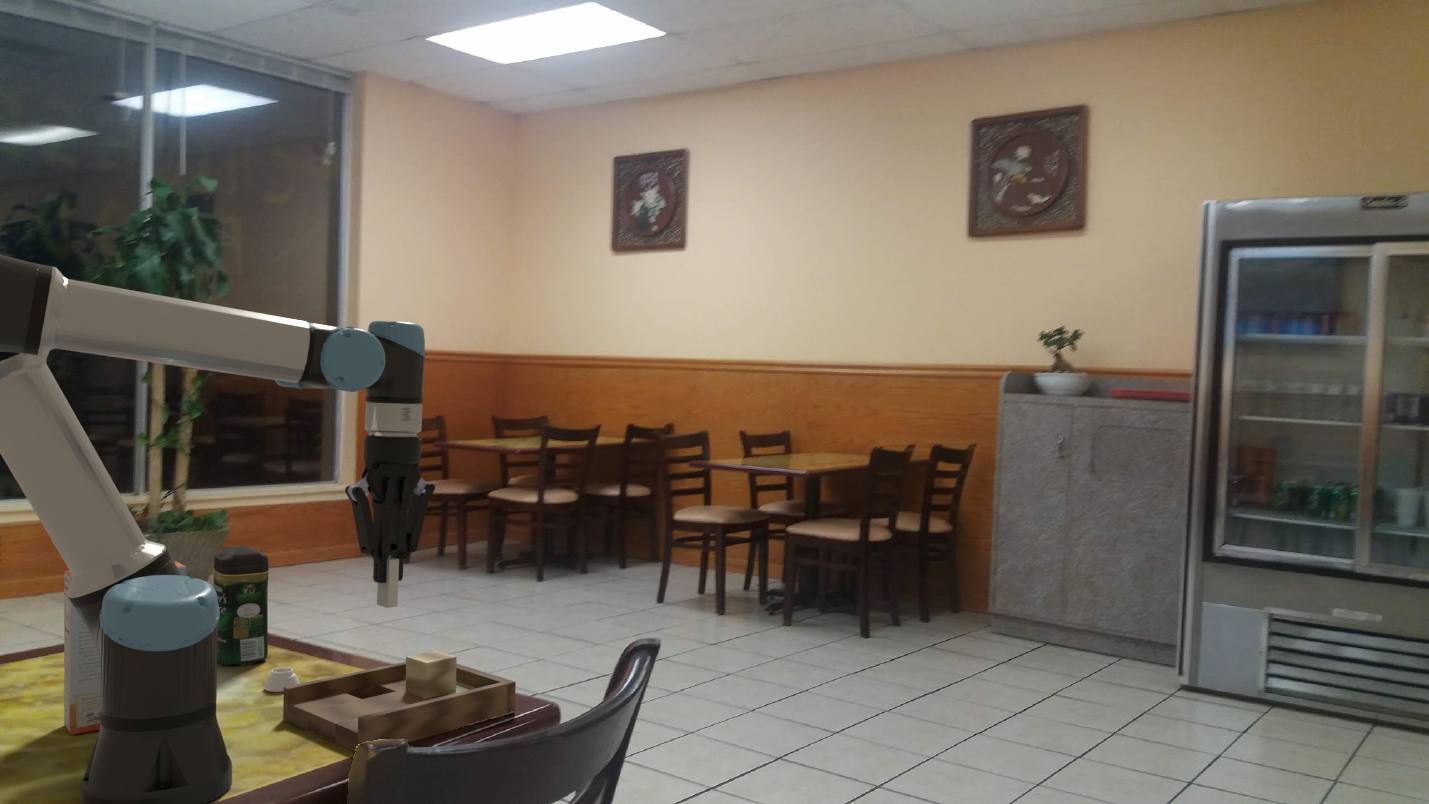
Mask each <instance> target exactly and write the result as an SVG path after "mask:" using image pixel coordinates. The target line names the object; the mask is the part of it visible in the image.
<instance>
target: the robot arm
mask: <svg viewBox="0 0 1429 804" xmlns="http://www.w3.org/2000/svg"><path fill="white" fill-rule="evenodd" d="M425 340H426V339H425V331H424V328H423V327H422V326H421V325H420V324H418V323H415V322H409V321H389V320H372V321H371V322H370V323H369V325H368V329H367V330H365V329H362V328H358V327H354V326H345V327H340V326H333V325H328V324H322V323H316V322H315V323H314V322H310V321H309V322H308V321H306V320H300V319H299V320H298V319H294V318H288V317H282V316H278V315H272V314H266V313H263V312H262V313H261V312H255V311H250V310H243V309H238V308H233V307H227V306H222V305H217V304H210V303H204V302H199V301H195V300H194V301H193V300H188V299H182V298H177V297H170V296H166V295H165V296H164V295H161V294H159V295H158V294H154V293H148V292H144V291H143V292H142V291H136V290H132V289H131V290H130V289H126V288H125V289H124V288H120V287H116V286H115V287H114V286H110V285H102V284H98V283H93V282H88V281H82V280H76V279H71V278H67V277H65V275H63V274H62V272H61V270H59V269H58V268H57V267H55V266H51V265H46V264H40V263H37V262H31V261H26V260H23V259H18V258H14V257H10V256H6V255H3V254H0V455H1V457H2V459H3V460H4V462H5V464H6V465H7V467H8V469H9V470H10V473H11V474H12V476H13V477H14V479H15V480H16V482H17V484H18V485H19V488H20V489H21V491H22V493H23V494H24V496H25V497H26V499H27V501H28V502H29V504H30V506H31V508H32V509H33V511H34V513H35V514H36V516H37V519H39V521H40V522H41V523H40V524H42V526H43V528H44V529H45V531H46V532H47V534H48V536H49V538H50V539H51V542H52V543H53V545H54V546H55V549H56V550H57V551H58V553H59V556H60V557H61V558H62V560H63V561H64V563H65V564H66V567H67V568H68V570H70V572H71V573H72V580H71V583H70V585H69V588H68V591H67V596H68V597H69V599H70V601H71V602H72V604H73V606H74V607H75V609H76V611H77V613H78V614H79V616H80V618H81V619H82V621H83V623H84V624H85V626H86V628H87V630H88V631H89V633H90V635H91V636H92V638H93V640H94V642H95V643H96V645H97V648H98V652H99V655H100V658H101V703H100V711H101V713H100V730H98V731H99V733H98V735H97V738H96V740H95V742H94V743H95V744H94V746H93V749H92V751H91V754H90V757H89V760H88V763H87V767H86V771H85V773H84V775H83V776H82V779H81V782H80V804H206V803H208V802H211V801H214V800H215V799H217V798H219V797H220V796H222V795H224V794H225V793H227V791H228V790H229V789H230V788H231V787H232V783H233V763H232V760H231V757H230V755H229V754H228V751H227V747H226V744H225V741H224V740H225V739H224V737H223V734H222V730H221V728H220V725H219V723H218V717H217V696H218V695H217V694H218V693H217V692H218V691H217V690H218V688H217V687H218V686H217V685H218V683H217V682H218V661H217V635H218V622H219V617H220V609H219V606H218V599H217V593H216V591H215V589H214V586H212V584H210V583H209V582H208V581H205V580H203V579H200V578H196V577H194V578H191V576H189V575H188V576H182V575H181V573H180V571H179V569H178V568H177V566H176V564H175V562H174V559H173V557H172V556H171V554H170V552H169V551H168V549H167V547H166V545H165V544H162V543H159V542H155V541H151V540H148V539H147V538H145V536H144V534H143V532H142V530H141V529H140V527H139V525H138V523H137V522H136V520H135V518H134V516H133V514H132V513H131V511H130V510H129V509H130V508H129V507H128V506H127V504H126V502H125V501H124V499H123V496H122V495H121V494H120V492H119V490H118V488H117V487H116V485H115V483H114V481H113V478H112V477H111V475H110V474H109V472H108V471H107V469H106V467H105V465H104V463H103V461H102V460H101V458H100V456H99V454H98V453H97V451H96V449H95V447H94V445H93V444H92V442H91V440H90V439H89V436H88V435H87V433H86V431H85V430H84V428H83V426H82V425H81V423H80V421H79V419H78V418H77V415H76V414H75V411H74V410H73V409H72V407H71V405H70V403H69V402H68V399H67V397H66V396H65V394H64V393H63V391H62V389H61V388H60V386H59V383H58V382H57V380H56V378H55V376H54V374H53V373H52V371H51V370H50V368H49V366H48V364H47V358H48V356H49V353H50V351H52V350H54V349H55V350H63V351H64V350H65V351H71V352H79V353H84V354H92V355H99V356H106V357H113V358H118V359H127V360H134V361H141V362H147V363H155V364H161V365H169V366H175V367H182V368H188V369H195V370H204V371H209V372H217V373H224V374H232V375H237V376H238V375H239V376H245V377H251V378H258V379H267V380H273V381H274V382H275V383H276V385H278V386H280V387H284V388H295V389H299V390H303V389H321V390H335V391H336V390H337V391H343V392H349V393H351V392H352V393H354V392H360V391H361V390H365V415H364V416H365V417H364V430H365V431H366V432H368V435H366V436H365V437H364V442H363V443H364V445H363V446H364V447H363V460H364V465H365V466H364V470H363V472H362V473H361V479H360V480H358V481H357V482H356V483H355V484H353V485H347V486H345V489H344V493H345V494H346V496H347V498H348V499H349V501H350V502H351V507H352V512H353V518H354V519H353V520H354V523H355V524H354V525H355V529H356V534H357V540H358V544H359V551H360V553H361V554H362V555H366V556H369V557H370V558H372V559H373V570H372V571H373V572H372V573H373V574H372V578H373V579H372V580H373V582H374V583H377V589H376V593H377V594H376V605H377V606H380V607H384V608H386V609H387V608H388V609H390V608H397V607H398V600H399V582H401V581H403V577H404V560H406V559H408V558H409V557H410V554H411V553H415V552H416V551H418V547H419V543H420V537H421V534H422V529H423V526H424V523H425V522H424V521H425V517H426V513H427V509H428V506H429V505H428V503H429V500H430V499H431V498H432V495H433V493H434V492H435V490H436V485H435V484H434V483H429V482H427V481H426V480H424V479H423V478H422V472H421V470H420V467H419V464H420V461H421V459H422V439H421V437H420V436H418V433H421V432H422V426H423V425H422V424H423V422H422V420H423V395H424V394H423V393H424V377H425V360H426V350H425V349H426V346H425V345H426V344H425V343H426V341H425ZM369 494H370V496H371V505H370V501H369V499H368V497H369ZM411 495H412V496H411ZM371 507H372V509H373V515H372V510H371Z"/></svg>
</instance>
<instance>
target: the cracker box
mask: <svg viewBox="0 0 1429 804" xmlns="http://www.w3.org/2000/svg"><path fill="white" fill-rule="evenodd" d="M173 561H174V560H173ZM174 562H175V564H176V566H177V568H178V569H179V571H180V573H181V575H182V576H187V573H188V572H187V569H188V567H187V566H186V565H184V564H182V563H181V562H178V561H177V560H175V561H174ZM63 579H64V581H63V582H64V583H63V584H64V585H63V586H64V588H63V589H64V594H63V595H64V596H63V597H64V599H63V600H64V603H63V604H64V606H63V609H64V610H63V611H64V612H63V614H64V615H63V616H64V617H63V620H64V621H63V626H64V627H63V628H64V629H63V630H64V632H63V639H64V640H63V642H64V643H63V646H64V647H63V653H64V655H63V657H64V658H63V659H64V660H63V661H64V662H63V663H64V665H63V666H64V667H63V668H64V673H63V674H64V675H63V683H64V685H63V687H64V688H63V692H64V693H63V710H64V711H63V717H64V720H63V721H64V722H63V723H64V726H65V727H66V730H67V731H68V733H69V734H70V735H71V736H72V735H78V734H85V733H91V732H96V731H97V732H98V731H100V713H101V711H100V703H101V658H100V655H99V652H98V648H97V645H96V643H95V642H94V640H93V638H92V636H91V635H90V633H89V631H88V630H87V628H86V626H85V624H84V623H83V621H82V619H81V618H80V616H79V614H78V613H77V611H76V609H75V607H74V606H73V604H72V602H71V601H70V599H69V597H68V596H67V591H68V588H69V585H70V583H71V580H72V573H71V572H70V570H69V569H68V570H66V571H64V577H63Z"/></svg>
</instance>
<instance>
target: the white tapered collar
mask: <svg viewBox="0 0 1429 804" xmlns="http://www.w3.org/2000/svg"><path fill="white" fill-rule="evenodd" d="M296 684H301V682H300V680H299V678H298V676H297V673H294V669H293V668H292V667H278V668H276V667H275V668H273V669H271V672H270V674H269V675H268V677H267V679H266V681H265V683H264V685H263V689H264V690H265V691H267V692H269V693H276V694H277V693H284V687H286V686H291V685H296Z"/></svg>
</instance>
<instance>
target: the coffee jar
mask: <svg viewBox="0 0 1429 804" xmlns="http://www.w3.org/2000/svg"><path fill="white" fill-rule="evenodd" d="M213 558H214V560H213V588H214V589H215V591H216V593H217V599H218V606H219V609H220V617H219V622H218V635H217V663H218V662H219V663H220V664H222V665H225V666H229V665H234V666H235V665H236V666H248V665H253V664H255V663H257V662H260V661H265V660H266V659H267V657H268V655H269V653H268V652H269V645H268V644H269V636H268V635H269V634H268V633H269V631H268V629H269V628H268V627H269V626H268V623H269V621H268V619H269V618H268V611H269V610H268V606H269V605H268V604H269V603H268V601H269V599H268V598H269V593H268V590H269V589H268V587H269V575H270V572H269V571H270V567H269V566H270V565H269V564H270V563H269V556H268V555H267V554H265V553H264V552H262V551H259V550H256V549H255V548H252V547H250V546H249V545H242V546H241V545H239V546H238V545H237V546H227V547H223V548H222V549H221V550H219V551H218V552H216V554H215V555H214V557H213Z"/></svg>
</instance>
